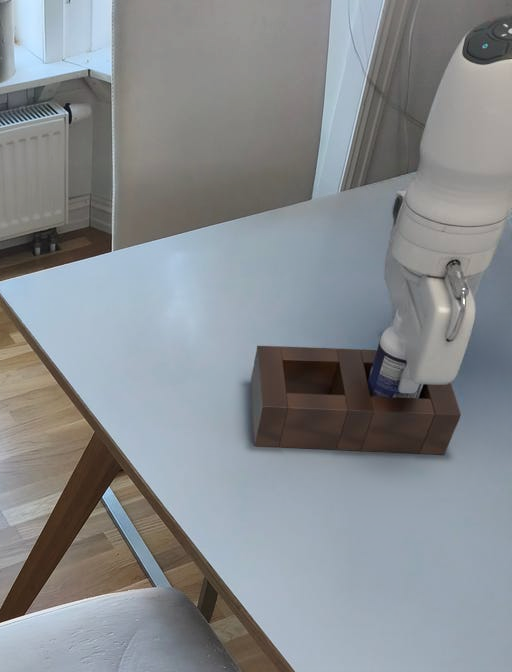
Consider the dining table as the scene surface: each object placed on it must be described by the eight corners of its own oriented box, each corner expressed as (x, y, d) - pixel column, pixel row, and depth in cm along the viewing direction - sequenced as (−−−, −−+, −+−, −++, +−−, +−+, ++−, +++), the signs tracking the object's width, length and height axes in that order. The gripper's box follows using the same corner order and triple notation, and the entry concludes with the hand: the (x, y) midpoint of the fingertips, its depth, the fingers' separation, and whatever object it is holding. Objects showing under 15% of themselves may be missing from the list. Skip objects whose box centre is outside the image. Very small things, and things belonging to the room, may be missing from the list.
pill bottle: (374, 378, 95) (401, 293, 87) (423, 394, 93) (455, 309, 85) (354, 403, 92) (380, 319, 85) (405, 421, 90) (436, 335, 83)
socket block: (426, 391, 97) (441, 351, 94) (444, 454, 91) (461, 414, 87) (249, 384, 99) (257, 345, 95) (254, 446, 92) (262, 406, 89)
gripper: (508, 298, 72) (451, 434, 83) (460, 185, 85) (416, 316, 96) (429, 296, 73) (382, 431, 84) (393, 184, 85) (357, 314, 96)
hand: (400, 369), depth 90 cm, fingers closed on pill bottle, 5 cm apart
